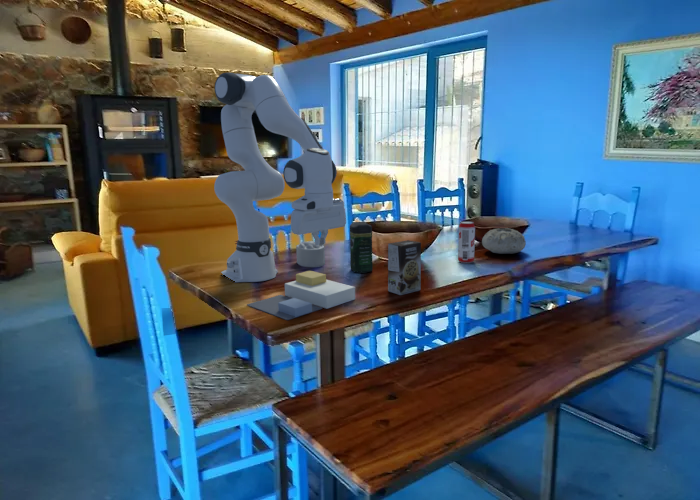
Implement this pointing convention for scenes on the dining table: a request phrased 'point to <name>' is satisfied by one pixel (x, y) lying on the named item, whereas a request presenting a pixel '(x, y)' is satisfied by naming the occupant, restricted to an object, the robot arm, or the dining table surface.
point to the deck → (321, 293)
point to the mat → (276, 306)
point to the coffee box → (404, 267)
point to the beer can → (466, 242)
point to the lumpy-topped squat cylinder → (310, 254)
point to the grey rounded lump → (504, 241)
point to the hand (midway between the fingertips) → (320, 244)
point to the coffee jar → (361, 247)
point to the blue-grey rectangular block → (295, 307)
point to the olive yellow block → (311, 278)
